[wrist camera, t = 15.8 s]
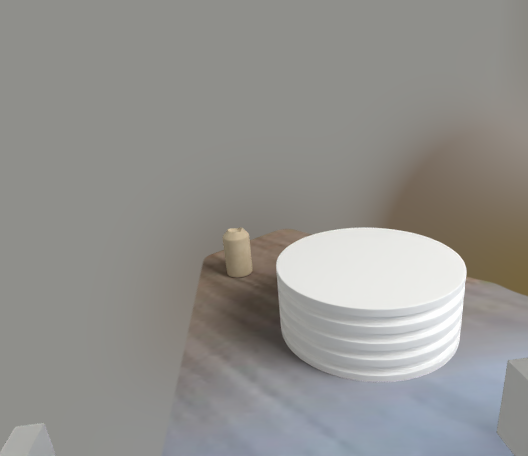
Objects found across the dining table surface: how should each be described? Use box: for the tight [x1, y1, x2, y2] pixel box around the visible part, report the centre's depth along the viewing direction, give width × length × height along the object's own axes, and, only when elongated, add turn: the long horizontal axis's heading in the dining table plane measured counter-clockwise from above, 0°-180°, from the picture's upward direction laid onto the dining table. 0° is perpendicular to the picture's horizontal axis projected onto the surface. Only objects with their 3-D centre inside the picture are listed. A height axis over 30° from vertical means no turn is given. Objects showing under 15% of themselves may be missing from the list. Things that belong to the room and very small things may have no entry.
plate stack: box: [276, 228, 466, 382], centre depth 66 cm, size 28×28×12 cm
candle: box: [223, 228, 252, 278], centre depth 87 cm, size 6×6×10 cm
